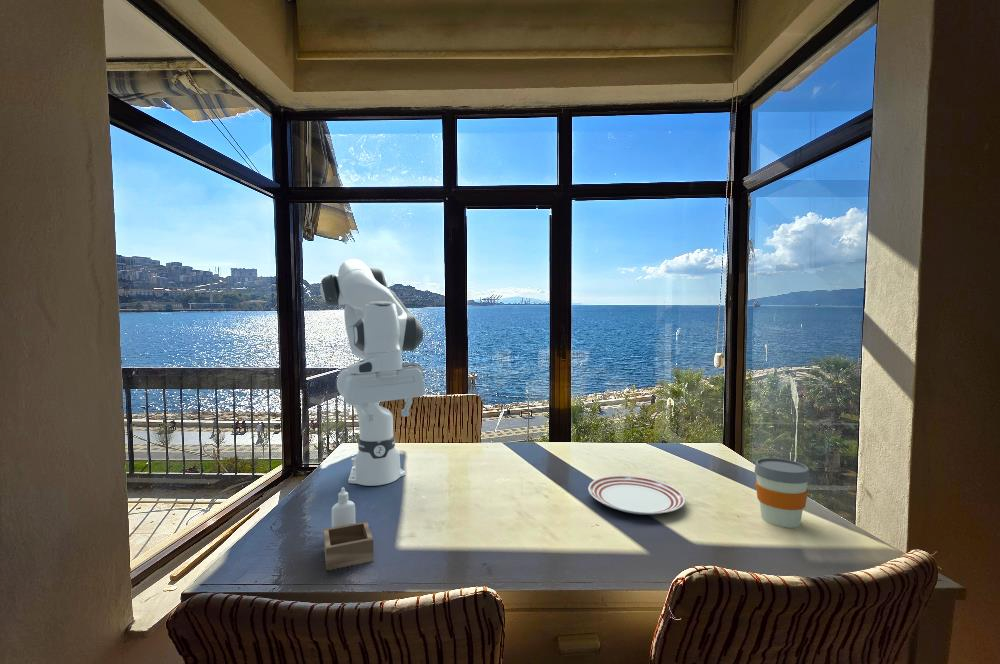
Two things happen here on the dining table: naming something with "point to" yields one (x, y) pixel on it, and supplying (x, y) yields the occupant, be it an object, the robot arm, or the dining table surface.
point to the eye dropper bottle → (343, 510)
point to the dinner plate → (636, 494)
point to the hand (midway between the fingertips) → (387, 418)
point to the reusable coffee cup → (781, 490)
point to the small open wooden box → (348, 545)
